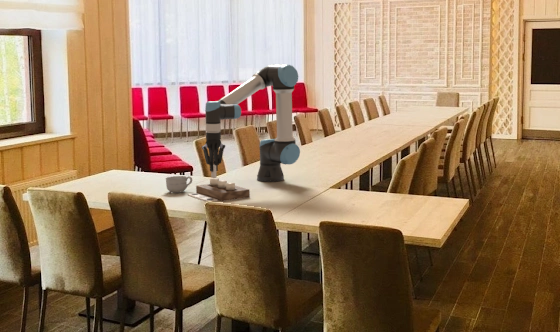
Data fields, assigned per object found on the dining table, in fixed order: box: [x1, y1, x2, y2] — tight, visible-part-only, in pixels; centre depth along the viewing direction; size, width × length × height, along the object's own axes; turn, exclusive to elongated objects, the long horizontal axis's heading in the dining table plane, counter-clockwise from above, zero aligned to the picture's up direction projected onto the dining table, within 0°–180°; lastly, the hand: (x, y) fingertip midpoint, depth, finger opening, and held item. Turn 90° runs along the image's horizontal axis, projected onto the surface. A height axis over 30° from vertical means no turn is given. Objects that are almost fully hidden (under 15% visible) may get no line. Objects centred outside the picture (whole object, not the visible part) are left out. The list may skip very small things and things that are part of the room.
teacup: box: [165, 175, 193, 194], centre depth 379 cm, size 14×11×8 cm
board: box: [195, 183, 251, 202], centre depth 368 cm, size 16×26×4 cm, turn 34°
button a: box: [209, 177, 220, 186], centre depth 374 cm, size 5×5×3 cm
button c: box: [226, 182, 236, 190], centre depth 361 cm, size 5×5×3 cm
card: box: [187, 192, 219, 202], centre depth 362 cm, size 5×22×1 cm, turn 34°
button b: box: [218, 179, 228, 188], centre depth 368 cm, size 5×5×3 cm
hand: (213, 177), depth 374 cm, fingers closed
